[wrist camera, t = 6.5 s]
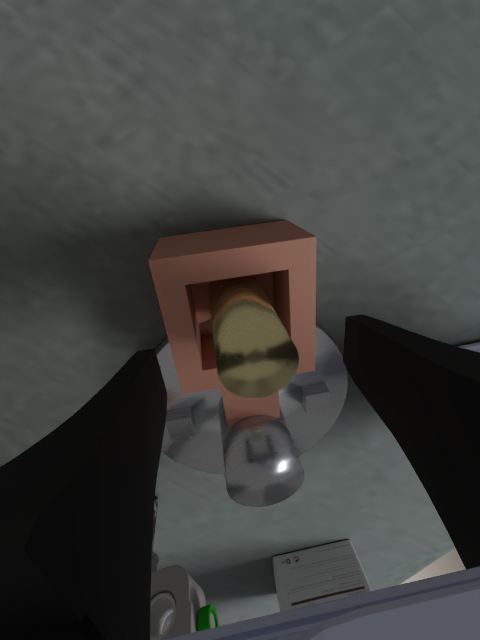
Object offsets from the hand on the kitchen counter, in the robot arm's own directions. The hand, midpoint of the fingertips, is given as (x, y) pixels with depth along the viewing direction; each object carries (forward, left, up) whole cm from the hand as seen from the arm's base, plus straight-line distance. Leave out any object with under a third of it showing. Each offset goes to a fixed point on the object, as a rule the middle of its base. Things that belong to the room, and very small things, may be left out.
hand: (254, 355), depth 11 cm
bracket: (0, +2, -7) cm, 7 cm away
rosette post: (0, +8, -7) cm, 11 cm away
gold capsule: (0, 0, -6) cm, 6 cm away
